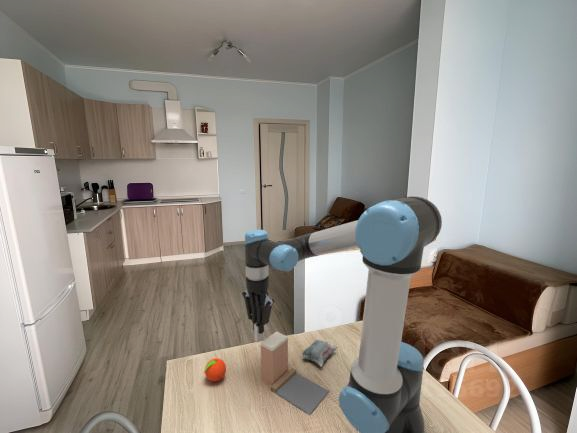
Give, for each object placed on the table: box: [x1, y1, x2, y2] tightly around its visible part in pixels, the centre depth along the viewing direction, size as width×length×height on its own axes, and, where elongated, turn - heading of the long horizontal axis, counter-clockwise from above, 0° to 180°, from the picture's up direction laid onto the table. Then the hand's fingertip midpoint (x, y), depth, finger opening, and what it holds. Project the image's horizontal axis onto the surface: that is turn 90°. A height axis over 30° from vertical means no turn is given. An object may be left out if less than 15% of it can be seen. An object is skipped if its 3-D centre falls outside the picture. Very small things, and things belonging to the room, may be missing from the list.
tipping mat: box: [270, 367, 330, 416], centre depth 94 cm, size 15×11×2 cm
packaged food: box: [301, 339, 338, 368], centre depth 109 cm, size 9×12×5 cm
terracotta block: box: [260, 331, 289, 387], centre depth 99 cm, size 5×8×14 cm, turn 142°
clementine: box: [203, 357, 227, 382], centre depth 98 cm, size 8×7×7 cm
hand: (258, 339), depth 102 cm, fingers closed
